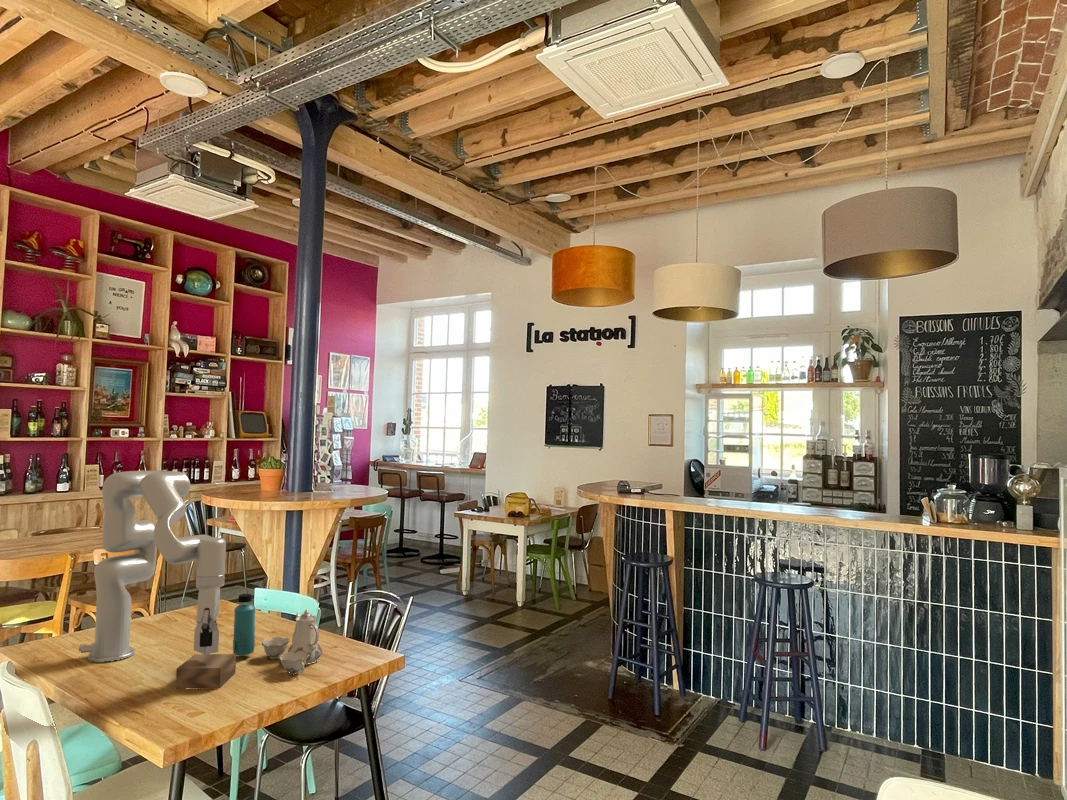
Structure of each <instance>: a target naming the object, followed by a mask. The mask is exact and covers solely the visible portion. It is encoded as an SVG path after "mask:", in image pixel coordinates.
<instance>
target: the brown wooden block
mask: <svg viewBox="0 0 1067 800" xmlns="http://www.w3.org/2000/svg"><path fill="white" fill-rule="evenodd" d="M236 661H237V655H236V654H234V653H219V654H217V653H215V654H214V653H211V654H208V655H204V654H202V653H200V654H198V653H195V654H193V655H192V656H191V657H190V658H188V659H187V660H186V661H184V662H183V663H182V664H181V665H179V666H178V667H177V668H176V671H175V672H176V673H175V690H187V689H186V688H198V689H197V690H202V689H201V688H220V689H221V688H222V687H223V686H224V685H225V684H226V683H228V681H229V680H230V679H231V678H232V677H233V676H234V675H235V674H236V666H237V665H236V664H237V662H236ZM199 688H200V689H199Z"/></svg>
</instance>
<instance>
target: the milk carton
mask: <svg viewBox="0 0 1067 800" xmlns="http://www.w3.org/2000/svg"><path fill="white" fill-rule="evenodd" d="M208 621H211V620H208ZM201 622H202V620H201ZM201 622H199V623H196V626H195V628H194V636H193V637H194V638H193V639H194V641H193V642H194V643H193V651H195V652H197V653H200V654H204V655H208V654H214V653H215V654H216V653H218V652H219V646H220V645H219V642H220V640H219V639H220V638H219V637H220V629H219V628H218V624H217V625H216V623H217V622H216V623H215V621H214V622H213V623H212V631H213V636H212V646H208V647H200V632H201ZM209 625H210V624H209ZM209 627H210V626H209ZM212 631H211V632H212Z"/></svg>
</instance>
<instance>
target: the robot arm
mask: <svg viewBox="0 0 1067 800" xmlns="http://www.w3.org/2000/svg"><path fill="white" fill-rule="evenodd" d="M190 490H191V481H190V479H189V477H188V475H186V474H185V473H184V472H182V471H176V470H175V471H172V470H157V469H156V470H129V471H121V472H120V471H119V472H116V473H112V474H110V475H109V476H107V477H106V478H105V480H104V481H103V485H102V489H101V491H102V492H101V495H102V496H101V497H102V501H103V507H104V518H103V527H102V529H103V530H102V547H103V549H104V550H105V551H106V552H107V553H111V554H112V553H123V552H124V553H125V552H131V551H134V553H129V554H121V555H115V556H111V557H107V558H104V559H102V560H100V561H99V562H98V563H97V564H96V565H95V567H94V570H93V571H94V572H93V573H94V575H93V576H94V582H95V587H96V588H95V589H96V606H95V608H96V609H95V610H96V611H95V628H94V630H95V631H94V643H93V642H92V643H91V644H80V645H79V647H78V651H79V652H80V653H82V654H83V653H89V654H88V656H87V660H88V661H90V662H92V661H94V662H93V663H105V662H104V661H111V662H115V661H114V660H117V661H121V660H125V659H127V657H128V658H130V657H131V656H133V655H135V651H136V650H135V648H134V647H131V646H130V639H131V623H132V622H131V619H132V618H131V616H132V596H131V594H130V592H129V591H128V590H127V589H126V586H127V585H130V584H135V583H140V582H144V581H147V580H150V579H151V578H152V577H153V575H154V574H155V570H156V566H157V565H156V564H157V555H158V554H157V553H158V552H159V554H160V555H161V557H162V558H163V560H165V561H166V562H167V563H168V564H170V565H171V564H172V565H179V564H186V563H191V562H196V577H195V578H196V579H195V588H197V589H198V596H197V606H196V607H197V608H196V609H197V610H196V619H195V621H196V624H198V623H199V622H201V620H202V622H201V632H200V647H208V646H212V636H213V631H212V623H213V622H214V621H215V623H216V625H217V626H218V623H217V621H218V620H217V618H218V616H219V612H220V604H221V603H220V602H221V587H223V586H225V581H226V580H225V579H226V577H225V573H226V556H227V555H226V553H227V542H226V540H225V538H223V537H213V536H211V535H209V534H198V535H197V534H196V535H189V536H182V537H181V536H180V537H176V536H175V535H174V533H173V531H172V529H171V527H170V526H171V525H173V524H174V523H176V522H178V521H180V520H181V518H183V516H184V515H185V514H186V512H187V510H188V508H187V505H186V503H185V501H184V500H183V499H182V498H183V497H186V496H187V495H188V494H189V492H190ZM132 498H144V499H145V501H146V502H147V505H148V506H149V508H150V509H151V511H152V513H153V514H154V515H155V517H156V519H157V521H156V523H153V522H152V521H150V520H147V519H139V520H136V507H135V504H134V503H133V501H132V500H131V499H132ZM208 620H211V621H208ZM209 624H210V625H209ZM209 626H210V627H209ZM211 631H212V632H211ZM124 658H125V659H124ZM120 659H121V660H120Z"/></svg>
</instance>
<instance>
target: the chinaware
mask: <svg viewBox="0 0 1067 800" xmlns="http://www.w3.org/2000/svg"><path fill="white" fill-rule="evenodd" d="M295 617H296V618H295V621H296V622H295V626H294V630H293V634H292V639H291V640H292V641H291V642H292V643H291V644H290V647H288V645H289V643H290V638H289V637H284V638H283V637H280V636H276V637H272V638H271V639H268V638H266V639H263V640H262V642H261V646H262V647H263V650H264V653H265V655H267V656H268V657H269V658H270V659H271V660H276V658H277V659H278V660H279V661H280V662H281V666H282V668H283V669H284V670H285V671H286V672H290V673H289V674H295V673H297V674H296V675H299V674H300V673H302V674H303V672H304V671H305V666H306V665H305V664H308V663H312V662H315V661H317V660H318V659H320V657H321V656H322V654H323V648H322V645H321V644H320V642H319V638H320V633H319V629H318V626H317V624H316V620H317V618H318V617H317V616H315V615H312V613H310V611H309V610H308V609H305V610H304V611H303V613H302V614H301V615H300V614H299V613H296V614H295ZM287 647H288V651H287V652H286V650H287ZM318 661H319V660H318Z"/></svg>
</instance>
